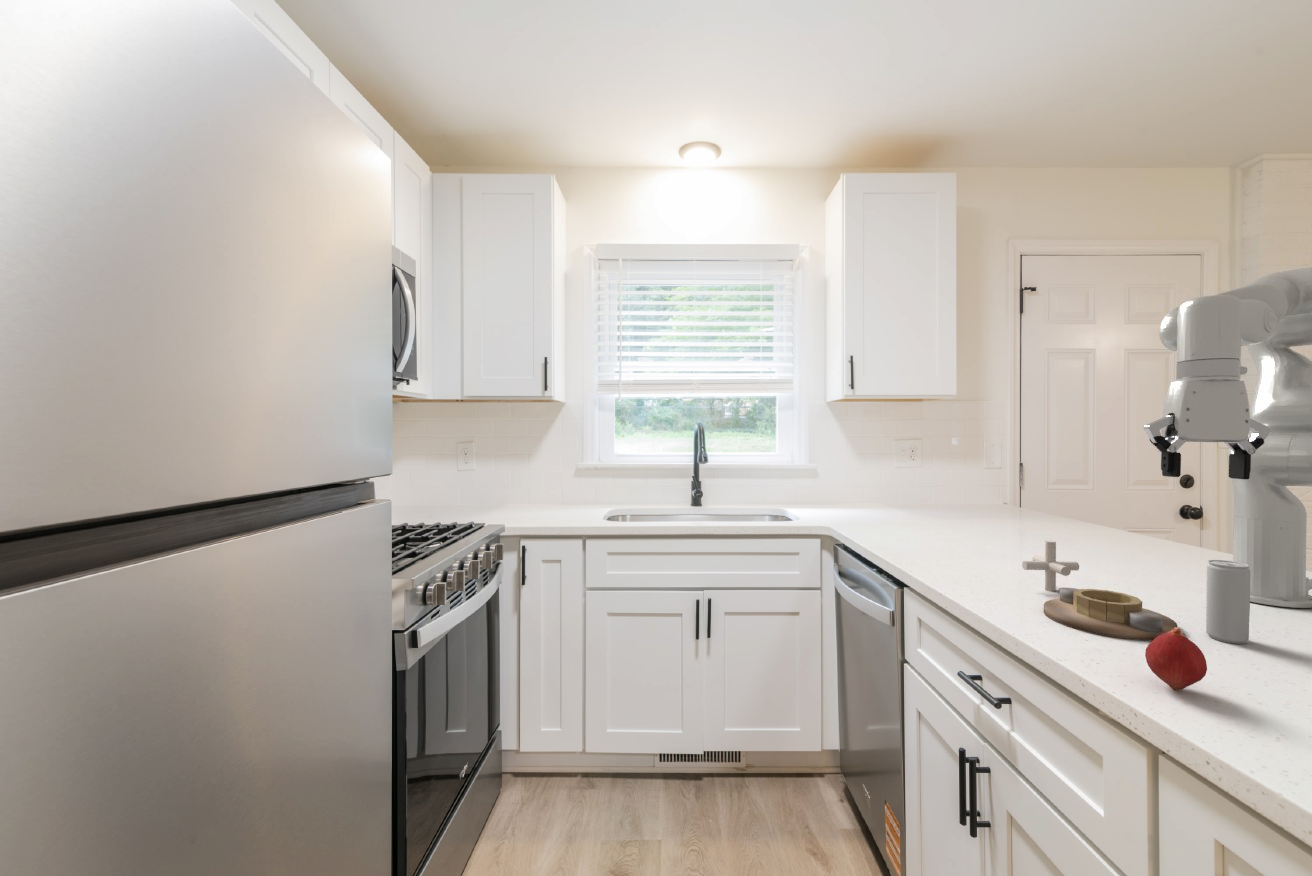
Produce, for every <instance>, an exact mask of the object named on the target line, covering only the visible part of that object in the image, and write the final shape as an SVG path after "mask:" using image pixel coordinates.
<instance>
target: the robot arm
mask: <svg viewBox="0 0 1312 876" xmlns="http://www.w3.org/2000/svg"><path fill="white" fill-rule="evenodd" d="M1158 332H1159V333H1158V334H1159V339H1160V342H1161V343H1162V345H1163V346H1164V347H1165V348H1167V350H1170V351H1172V352H1176V367H1175V368H1176V375H1175V377H1176V378H1175V379H1176V380H1175V381H1173V382H1172V381H1171V382H1169V385H1168V389H1167V392H1166V395H1165V400H1164V403H1163V411H1162V417H1161V418H1159V419H1157V420H1155V421H1152V422H1149V423H1146V424H1145V425H1144V426H1143V430H1144V431H1145V434H1146V435H1147V437H1149V442H1150V443H1151V444H1152V445H1153V446H1155V448H1156V450H1157V452H1159V453H1160V455H1161V456H1160V457H1161V458H1160V470H1161V473H1162V474H1161V475H1162V476H1163V477H1171V478H1172V477H1173V478H1179V477H1181V474H1182V473H1181V470H1182V469H1181V468H1182V454H1181V452H1177V451H1178V450H1179V449H1180V448H1181V447H1182V446H1183V445H1184V444H1185V443H1186V442H1188V443H1191V442H1192V443H1193V442H1194V443H1195V442H1196V443H1197V442H1199V443H1225V445H1227V447H1228V449H1227V464H1228V477H1229V478H1230V479H1231V483H1232V484H1231V485H1232V492H1233V493H1232V494H1233V539H1232V541H1233V542H1232V545H1233V549H1232V551H1233V553H1232V558H1233V559H1232V561H1234V562H1240V563H1244V564H1247V565H1249V568H1248V569H1250V603H1255V604H1262V605H1266V606H1274V607H1282V608H1294V609H1312V595H1310V594H1309V591H1310V590H1312V578H1309V577H1306V576H1307V523H1308V522H1307V518H1308V517H1307V516H1308V514H1307V509H1306V507H1305V505H1304V504H1303V502H1302V501H1301V500H1300V499H1299V498H1298V497H1297V496H1296V495H1295V493H1293V492H1292V491H1291V490H1290V489H1289V488H1288V487H1296V486H1297V487H1312V360H1311V359H1310V358H1308V357H1307V356H1306V355H1303V354H1301V353H1299V352H1297V351H1295V350H1294V349H1292V348H1291V347H1302V346H1312V266H1307V267H1302V268H1297V269H1295V268H1294V269H1291V270H1285V271H1278V272H1274V273H1269V274H1266V275H1265V274H1264V275H1261V276H1260V277H1258V278H1256V279H1254V280H1252V281H1250V282H1248V283H1247V284H1245V285H1243V286H1241V287H1239V288H1234V289H1230V290H1228V291H1223V292H1221V293H1220V292H1219V293H1218V294H1215V295H1206V296H1205V295H1204V296H1200V297H1194V298H1191V299H1188V300H1185V301H1183V302H1182V303H1181V304H1180V305H1178V306H1177V307H1175V308H1173V309H1172V310H1169V312H1167V314H1166V315H1165V316H1164V317H1163V319H1162V320H1161V322H1160V325H1159V329H1158ZM1242 346H1243V347H1246V348H1247V350H1248V353H1249V355H1250V358H1251V360H1252V362H1253V364H1254V366H1255V368H1256V371H1257V378H1256V379H1257V381H1256V384H1255V388H1254V393H1253V396H1252V401H1251V404H1249V397H1248V393H1247V391H1248V390H1247V387H1246V384H1245V381H1244V380H1241V375H1243V376H1244V375H1246V374H1247V373H1248V367H1247V366H1241V364H1242V362H1241V356H1242V355H1241V354H1242V351H1241V350H1242ZM1250 432H1252V433H1251V435H1250Z"/></svg>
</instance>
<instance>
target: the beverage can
mask: <svg viewBox="0 0 1312 876" xmlns="http://www.w3.org/2000/svg"><path fill="white" fill-rule="evenodd" d="M1207 563H1208V564H1207V565H1206V600H1205V601H1206V602H1205V603H1206V604H1205V605H1206V607H1205V612H1206V613H1205V617H1206V618H1205V632H1206V634H1207V635H1208V637H1210V638H1211V639H1214V640H1215V641H1219V642H1222V643H1227V644H1235V645H1244V644H1246V643H1247V642H1248V641H1249V639H1250V637H1249V636H1250V612H1251V609H1250V608H1251V602H1250V569H1248V568H1249V565H1247V564H1244V563H1240V562H1234V561H1233V560H1223V559H1210V560H1208V561H1207Z"/></svg>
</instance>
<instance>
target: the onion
mask: <svg viewBox="0 0 1312 876" xmlns="http://www.w3.org/2000/svg"><path fill="white" fill-rule="evenodd" d="M1144 654H1145V655H1144V656H1145V659H1146V663H1147V666H1148V667H1149V669H1150V670H1151V672H1152V673H1153V674H1154V675H1155V676H1156V677H1157V678H1159V679H1160V680H1161V681H1162V682H1164V683H1165V684H1166V685H1167V686H1169V687H1170V688H1171V689H1172V690H1175V691H1181V690H1184V689H1185V688H1189V687H1190V686H1192V685H1194V684H1196V683H1199V682H1201V681H1202V680H1203V678H1205V676H1206V674H1207V671H1208V664H1207V660H1206V656H1205V655H1204V653H1203V651H1202V650H1201V649H1200V647H1199V646H1198V645H1197V644H1195V643H1194V642H1193V640H1190V639H1189V638H1188V637H1187V636H1185V635H1184V633H1183V632H1182V628H1179V627H1177V628H1174V629H1173V630H1171V631H1169V632H1167V633H1164V634H1161V635H1159V636H1158V637H1156V638H1155V639H1154V640H1151V642H1149V643H1148V644H1147V646H1146V648H1145V652H1144Z"/></svg>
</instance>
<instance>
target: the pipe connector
mask: <svg viewBox="0 0 1312 876" xmlns="http://www.w3.org/2000/svg"><path fill="white" fill-rule="evenodd" d="M1021 565H1022V566H1021V567H1022V568H1023V570H1027V571H1044V590H1045V591H1049V592H1056V590H1057V589H1056V588H1057V585H1056V584H1057V574H1060V575H1061V576H1065V577H1068V576H1069V575H1071V571H1079V569H1080V564H1079V562H1078V561H1065V560H1064V561H1063V560H1062V561H1060V560H1059V561H1058V560H1057V541H1054V540H1045V541H1044V557H1042V556H1041V555H1037V554H1036V555H1034V556H1033V557H1032V560H1023V561H1022V564H1021Z"/></svg>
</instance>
